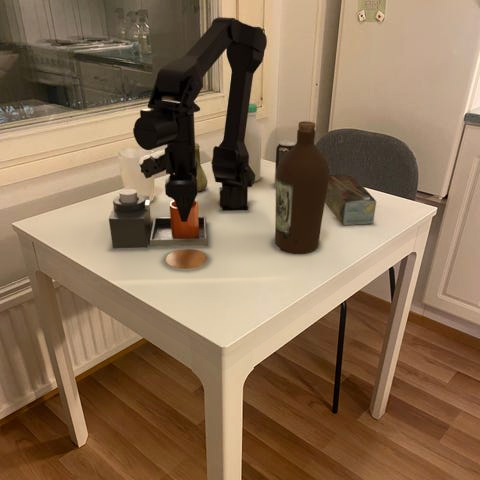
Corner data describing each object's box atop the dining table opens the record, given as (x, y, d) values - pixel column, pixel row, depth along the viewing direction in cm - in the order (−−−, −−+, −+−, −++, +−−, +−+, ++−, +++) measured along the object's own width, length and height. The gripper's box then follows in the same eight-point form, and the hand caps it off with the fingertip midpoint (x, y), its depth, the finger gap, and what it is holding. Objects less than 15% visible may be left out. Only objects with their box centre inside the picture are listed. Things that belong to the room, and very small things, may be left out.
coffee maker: (151, 224, 113) (148, 188, 108) (146, 249, 102) (142, 210, 97) (121, 224, 112) (116, 189, 108) (113, 249, 102) (107, 211, 97)
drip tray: (206, 224, 113) (206, 216, 112) (207, 247, 104) (206, 238, 102) (154, 225, 113) (153, 217, 111) (150, 248, 103) (149, 239, 102)
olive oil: (306, 231, 111) (318, 115, 97) (330, 251, 103) (346, 127, 89) (264, 238, 108) (269, 118, 93) (284, 258, 100) (294, 131, 85)
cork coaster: (207, 250, 102) (207, 248, 102) (207, 270, 95) (207, 267, 95) (167, 251, 101) (166, 249, 101) (164, 270, 95) (164, 268, 94)
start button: (138, 197, 104) (137, 188, 103) (136, 204, 101) (135, 194, 100) (121, 198, 104) (120, 188, 103) (119, 204, 101) (118, 194, 100)
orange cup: (198, 228, 111) (197, 198, 107) (198, 239, 106) (197, 208, 102) (172, 228, 110) (170, 198, 106) (171, 239, 105) (169, 209, 101)
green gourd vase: (194, 185, 135) (193, 141, 129) (211, 187, 134) (210, 142, 127) (186, 192, 131) (183, 146, 124) (202, 194, 130) (201, 148, 123)
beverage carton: (341, 226, 114) (344, 199, 110) (319, 197, 129) (322, 172, 126) (373, 224, 114) (378, 197, 111) (348, 196, 130) (352, 171, 126)
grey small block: (150, 208, 105) (149, 200, 104) (149, 213, 103) (148, 204, 102) (146, 208, 105) (146, 200, 104) (145, 213, 103) (144, 204, 102)
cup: (161, 194, 129) (158, 148, 122) (153, 206, 122) (149, 158, 115) (128, 192, 130) (123, 146, 123) (118, 205, 122) (112, 157, 116)
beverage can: (288, 181, 139) (291, 138, 132) (298, 188, 135) (302, 143, 128) (270, 184, 137) (273, 140, 130) (280, 191, 133) (283, 146, 126)
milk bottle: (263, 176, 143) (266, 103, 132) (255, 184, 137) (257, 108, 126) (238, 173, 145) (239, 100, 134) (229, 181, 139) (229, 106, 128)
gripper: (143, 127, 103) (150, 198, 112) (134, 152, 88) (143, 231, 97) (196, 127, 104) (198, 197, 113) (196, 151, 89) (198, 230, 98)
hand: (184, 213), depth 105 cm, fingers open, 9 cm apart
